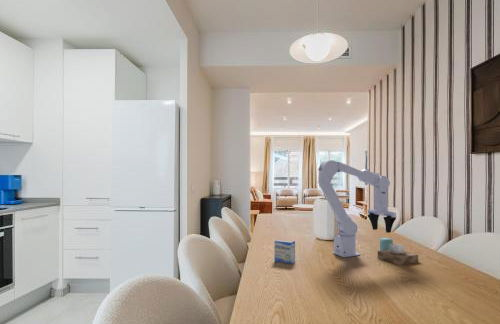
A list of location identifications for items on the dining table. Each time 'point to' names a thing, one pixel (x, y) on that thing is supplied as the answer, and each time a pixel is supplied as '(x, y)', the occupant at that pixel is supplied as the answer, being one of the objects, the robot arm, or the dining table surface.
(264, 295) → the dining table surface
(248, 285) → the dining table surface
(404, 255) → the walnut bore block
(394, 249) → the square bit
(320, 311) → the dining table surface
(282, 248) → the medicine box
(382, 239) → the round bit
